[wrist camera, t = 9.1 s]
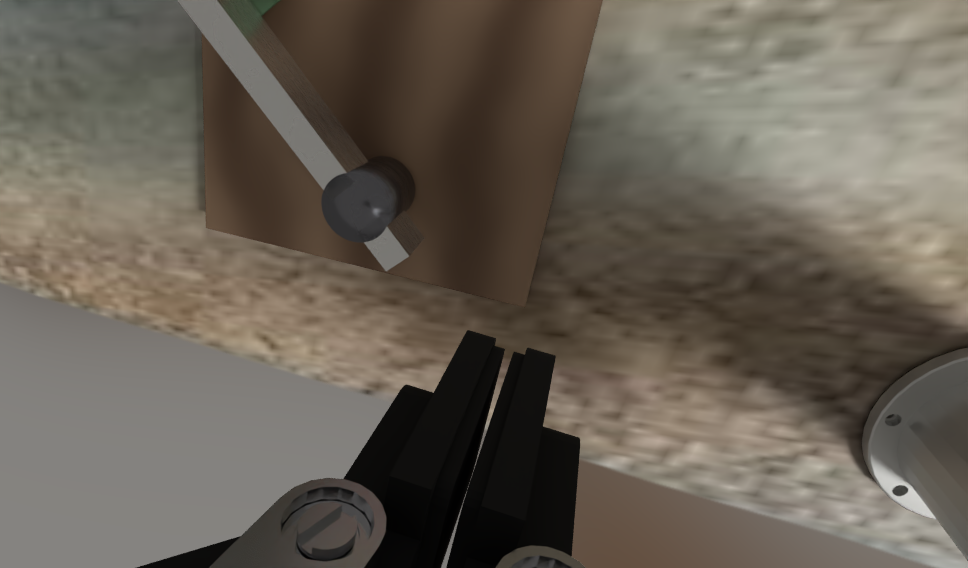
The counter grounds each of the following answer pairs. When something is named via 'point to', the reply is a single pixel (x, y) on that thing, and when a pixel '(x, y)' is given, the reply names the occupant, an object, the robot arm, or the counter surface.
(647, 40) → the counter surface
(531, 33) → the dial board
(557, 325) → the counter surface
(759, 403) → the counter surface
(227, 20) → the dial pointer
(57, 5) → the counter surface
